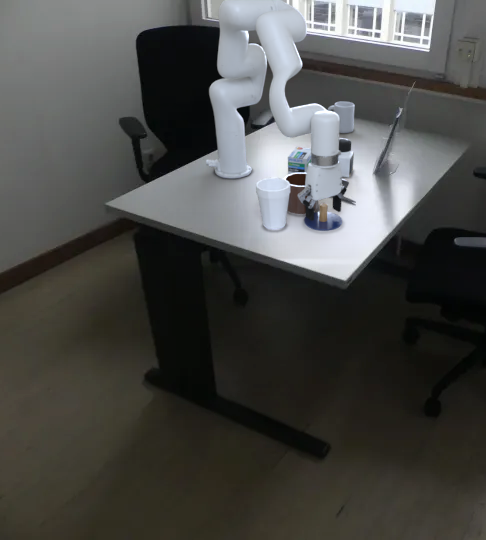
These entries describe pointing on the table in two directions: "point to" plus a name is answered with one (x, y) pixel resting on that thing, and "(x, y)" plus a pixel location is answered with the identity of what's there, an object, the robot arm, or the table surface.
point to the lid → (324, 219)
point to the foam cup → (273, 201)
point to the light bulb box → (299, 160)
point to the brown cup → (295, 188)
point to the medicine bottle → (345, 157)
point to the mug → (344, 115)
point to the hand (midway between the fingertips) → (323, 214)
